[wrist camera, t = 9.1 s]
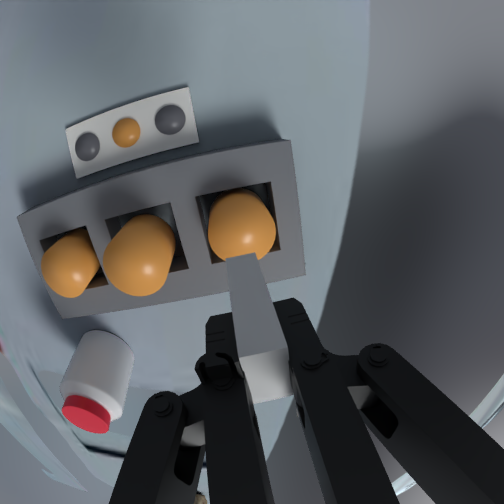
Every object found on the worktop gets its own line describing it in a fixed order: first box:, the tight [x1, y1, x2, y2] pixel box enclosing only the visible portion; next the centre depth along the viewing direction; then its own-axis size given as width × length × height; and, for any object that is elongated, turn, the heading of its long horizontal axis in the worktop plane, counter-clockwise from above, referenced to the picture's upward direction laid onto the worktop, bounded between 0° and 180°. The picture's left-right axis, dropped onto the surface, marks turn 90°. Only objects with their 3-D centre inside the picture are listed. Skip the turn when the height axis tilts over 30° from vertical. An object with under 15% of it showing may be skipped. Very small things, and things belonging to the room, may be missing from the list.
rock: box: [194, 494, 207, 504], centre depth 57 cm, size 11×12×10 cm
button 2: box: [41, 228, 101, 298], centre depth 22 cm, size 5×5×4 cm
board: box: [17, 139, 306, 319], centre depth 23 cm, size 26×12×3 cm, turn 99°
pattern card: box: [65, 87, 199, 179], centre depth 20 cm, size 12×5×1 cm, turn 99°
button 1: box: [208, 188, 276, 261], centre depth 22 cm, size 5×5×4 cm
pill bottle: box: [60, 330, 135, 433], centre depth 26 cm, size 8×8×11 cm
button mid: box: [103, 214, 176, 296], centre depth 21 cm, size 5×5×4 cm
